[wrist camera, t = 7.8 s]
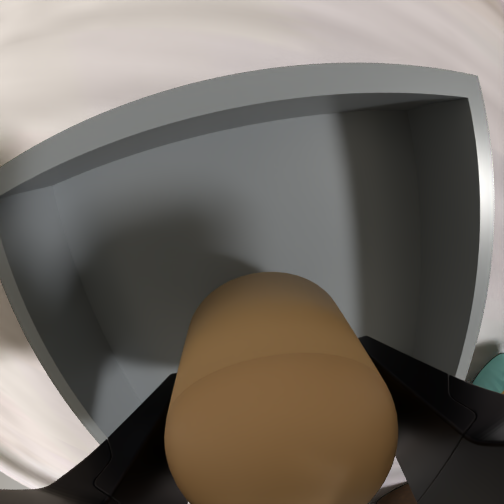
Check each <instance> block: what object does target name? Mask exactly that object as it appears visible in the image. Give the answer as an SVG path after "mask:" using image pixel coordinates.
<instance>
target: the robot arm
mask: <svg viewBox="0 0 504 504" xmlns="http://www.w3.org/2000/svg"><path fill="white" fill-rule="evenodd" d="M358 339H359V341H360V342H361V344H362V346H363V347H364V349H365V350H366V352H367V354H368V355H369V357H370V358H371V360H372V362H373V363H374V365H375V367H376V368H377V370H378V372H379V373H380V375H381V377H382V378H383V380H384V382H385V383H386V385H387V387H388V389H389V391H390V394H391V396H392V399H393V401H394V405H395V409H396V412H397V420H398V443H397V450H396V454H395V456H396V458H397V461H398V463H399V465H400V467H401V469H402V471H403V473H404V475H405V477H406V480H407V482H408V484H409V486H410V488H411V491H412V493H413V495H414V497H415V499H416V502H418V503H417V504H504V394H501V393H498V392H495V391H491V390H488V389H485V388H482V387H479V386H477V385H474V384H471V383H469V382H466V381H464V380H461V379H459V378H457V377H455V376H452V375H449V374H448V373H446V372H444V371H441V370H439V369H437V368H435V367H433V366H431V365H428V364H426V363H424V362H422V361H420V360H418V359H416V358H413V357H411V356H409V355H407V354H405V353H403V352H401V351H399V350H397V349H394V348H392V347H390V346H388V345H386V344H384V343H382V342H380V341H378V340H376V339H374V338H372V337H370V336H367V335H366V336H362V337H358ZM176 375H177V373H172V374H170V375H169V376H168V377H167V378H166V379H165V380H164V381H163V382H162V383H161V384H160V385H159V386H158V387H157V388H156V389H155V390H154V391H153V392H152V394H151V395H150V396H149V397H148V398H147V399H146V400H145V401H144V402H143V403H142V404H141V405H140V406H139V407H138V408H137V409H136V410H135V411H134V412H133V413H132V414H131V415H130V416H129V417H128V418H127V419H126V420H125V421H124V422H123V423H122V424H121V425H120V426H119V427H118V428H117V429H116V430H115V431H114V432H113V433H112V434H111V435H110V436H109V437H108V439H106V440H105V441H104V442H103V443H102V444H100V445H99V446H98V447H97V448H96V449H95V450H94V451H93V452H92V453H91V454H90V455H89V456H87V457H86V458H85V459H84V460H83V461H81V462H80V463H79V464H78V465H76V466H75V467H74V468H72V469H71V470H70V471H69V472H67V473H66V474H65V475H63V476H62V477H61V478H59V479H58V480H57V481H55V482H54V483H52V484H51V485H49V486H47V487H44V488H39V489H25V490H7V489H6V490H5V489H3V490H2V489H0V504H188V501H187V499H186V498H185V497H184V495H183V494H182V493H181V491H180V490H179V488H178V487H177V485H176V483H175V481H174V478H173V476H172V474H171V472H170V469H169V466H168V462H167V458H166V452H165V442H164V435H165V426H166V418H167V413H168V409H169V405H170V400H171V396H172V392H173V388H174V384H175V379H176Z"/></svg>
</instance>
